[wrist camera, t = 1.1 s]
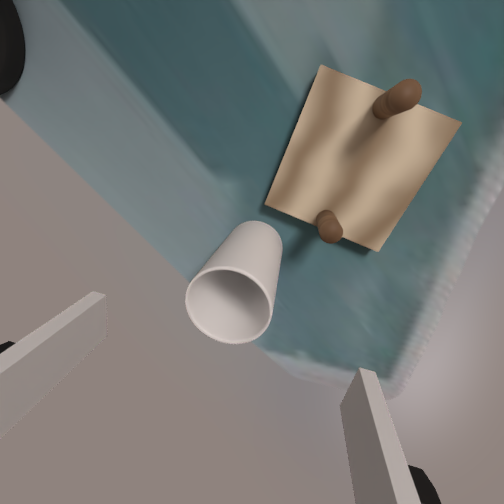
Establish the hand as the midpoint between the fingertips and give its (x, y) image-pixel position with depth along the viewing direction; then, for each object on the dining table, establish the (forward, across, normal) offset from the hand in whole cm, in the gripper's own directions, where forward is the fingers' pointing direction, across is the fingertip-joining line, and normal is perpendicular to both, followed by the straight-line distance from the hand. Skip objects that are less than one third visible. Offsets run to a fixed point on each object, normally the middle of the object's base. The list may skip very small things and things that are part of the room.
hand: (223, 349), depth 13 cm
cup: (+25, -2, -4) cm, 26 cm away
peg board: (+25, +8, +9) cm, 28 cm away
